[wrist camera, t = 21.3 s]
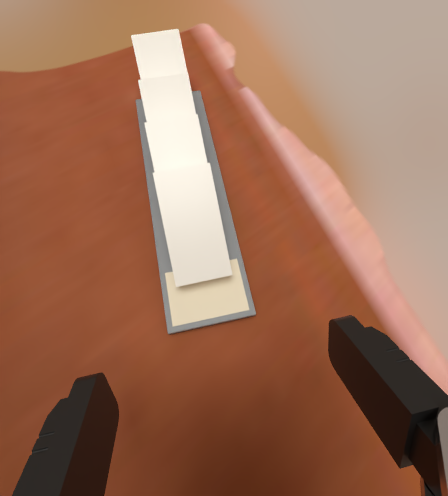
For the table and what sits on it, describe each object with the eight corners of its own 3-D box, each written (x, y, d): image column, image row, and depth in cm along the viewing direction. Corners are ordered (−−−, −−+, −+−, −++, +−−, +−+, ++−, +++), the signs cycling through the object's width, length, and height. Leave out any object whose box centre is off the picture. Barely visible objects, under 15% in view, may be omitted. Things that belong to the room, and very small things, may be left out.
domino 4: (232, 275, 24) (209, 162, 24) (175, 286, 24) (152, 172, 23) (230, 272, 26) (209, 169, 26) (177, 284, 26) (156, 178, 25)
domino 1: (197, 123, 30) (178, 28, 29) (152, 131, 30) (131, 35, 29) (197, 130, 32) (179, 41, 31) (155, 138, 32) (135, 48, 31)
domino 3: (218, 218, 26) (197, 114, 26) (166, 229, 26) (144, 122, 25) (217, 220, 28) (197, 123, 28) (168, 230, 28) (148, 131, 27)
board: (254, 315, 26) (256, 314, 25) (169, 334, 25) (167, 333, 24) (200, 97, 35) (200, 90, 34) (137, 106, 35) (135, 99, 34)
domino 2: (207, 171, 28) (187, 72, 28) (158, 179, 27) (137, 80, 27) (207, 175, 30) (188, 84, 30) (161, 184, 29) (142, 91, 29)
